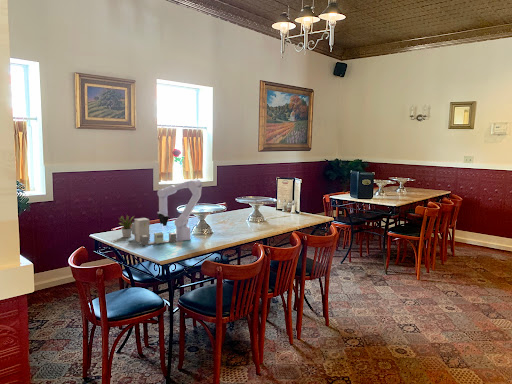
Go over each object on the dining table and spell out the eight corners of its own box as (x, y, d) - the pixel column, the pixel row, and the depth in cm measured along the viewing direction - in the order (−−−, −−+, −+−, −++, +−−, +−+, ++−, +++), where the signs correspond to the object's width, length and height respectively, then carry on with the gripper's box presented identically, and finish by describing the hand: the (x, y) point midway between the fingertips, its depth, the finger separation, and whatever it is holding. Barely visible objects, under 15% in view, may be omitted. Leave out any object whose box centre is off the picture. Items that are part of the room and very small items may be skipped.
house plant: (112, 239, 267) (112, 216, 265) (116, 234, 281) (115, 212, 279) (134, 239, 270) (133, 216, 268) (136, 234, 283) (136, 212, 281)
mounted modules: (173, 239, 268) (173, 232, 267) (176, 241, 263) (176, 233, 263) (141, 242, 257) (141, 235, 256) (143, 244, 253) (142, 236, 252)
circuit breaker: (141, 236, 277) (140, 216, 275) (150, 240, 266) (149, 219, 264) (130, 238, 272) (130, 217, 270) (139, 242, 261) (139, 220, 259)
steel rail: (175, 240, 268) (175, 239, 268) (177, 242, 264) (177, 240, 264) (140, 244, 256) (140, 243, 256) (141, 245, 253) (141, 244, 253)
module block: (161, 241, 263) (161, 232, 262) (163, 242, 259) (163, 233, 258) (154, 241, 261) (154, 233, 260) (156, 243, 257) (155, 234, 256)
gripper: (154, 204, 277) (155, 223, 279) (160, 207, 265) (160, 227, 266) (164, 204, 281) (164, 222, 282) (170, 207, 268) (170, 226, 270)
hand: (163, 224), depth 275 cm, fingers open, 7 cm apart
